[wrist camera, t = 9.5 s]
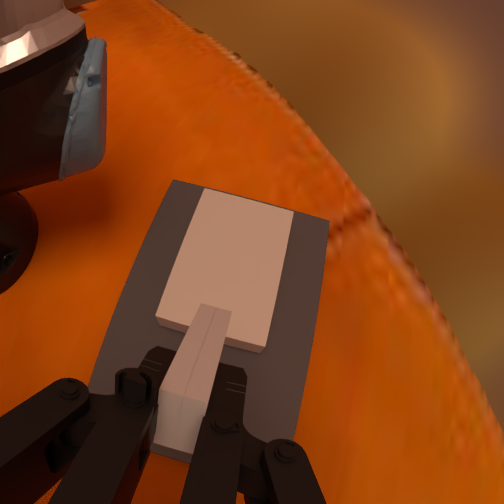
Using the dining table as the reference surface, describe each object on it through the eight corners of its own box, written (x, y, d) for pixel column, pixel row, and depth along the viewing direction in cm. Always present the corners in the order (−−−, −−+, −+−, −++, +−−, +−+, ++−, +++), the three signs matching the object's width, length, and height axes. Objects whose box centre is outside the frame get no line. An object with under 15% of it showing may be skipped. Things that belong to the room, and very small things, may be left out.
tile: (265, 346, 28) (293, 211, 35) (155, 315, 28) (204, 188, 35) (259, 353, 30) (287, 228, 38) (159, 326, 30) (204, 206, 38)
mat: (280, 480, 25) (282, 482, 24) (81, 422, 25) (77, 422, 24) (326, 225, 40) (329, 220, 39) (173, 184, 40) (173, 179, 39)
